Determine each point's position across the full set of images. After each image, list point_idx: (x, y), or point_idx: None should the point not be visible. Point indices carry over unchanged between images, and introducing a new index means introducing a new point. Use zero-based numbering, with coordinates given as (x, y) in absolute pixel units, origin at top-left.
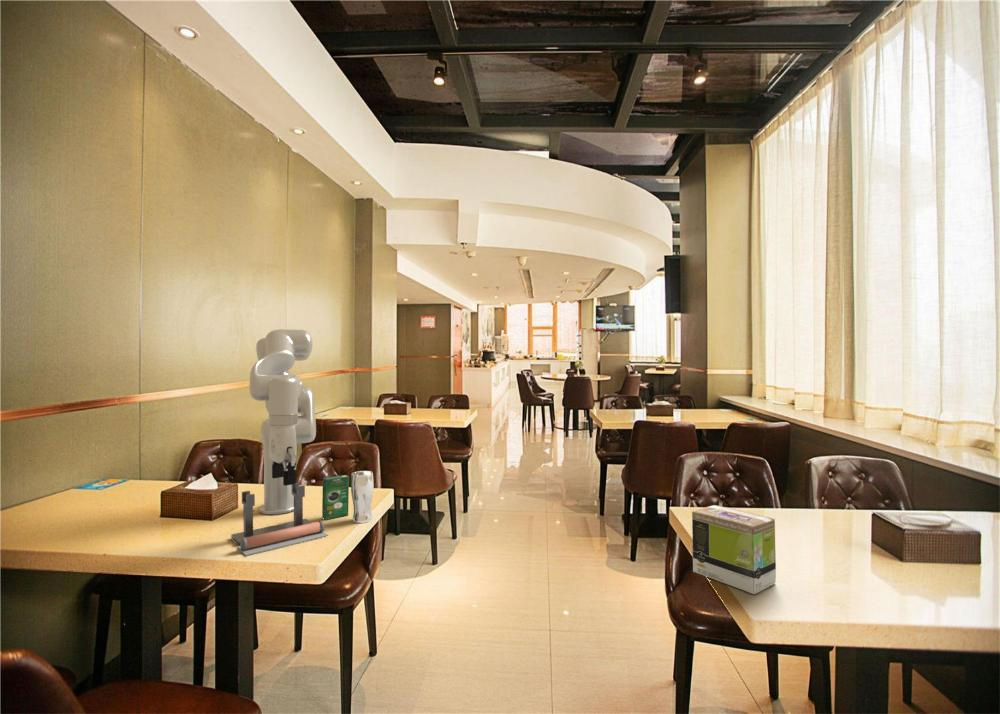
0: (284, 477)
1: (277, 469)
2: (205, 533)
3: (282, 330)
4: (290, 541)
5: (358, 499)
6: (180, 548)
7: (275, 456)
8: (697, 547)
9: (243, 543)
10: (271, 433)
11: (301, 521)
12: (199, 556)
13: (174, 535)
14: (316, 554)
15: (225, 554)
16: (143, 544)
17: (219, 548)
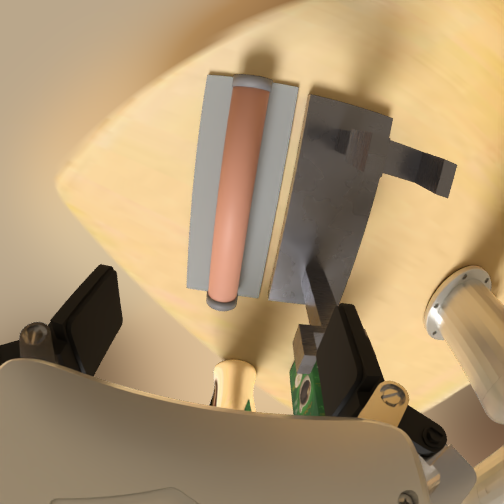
0: (75, 294)
1: (337, 367)
2: (467, 111)
3: None
4: (212, 204)
5: (215, 404)
6: (410, 19)
7: (63, 436)
8: None
9: (234, 75)
10: None
11: (302, 286)
12: (314, 6)
13: (495, 74)
14: (95, 210)
15: (272, 47)
16: (481, 16)
17: (336, 59)
